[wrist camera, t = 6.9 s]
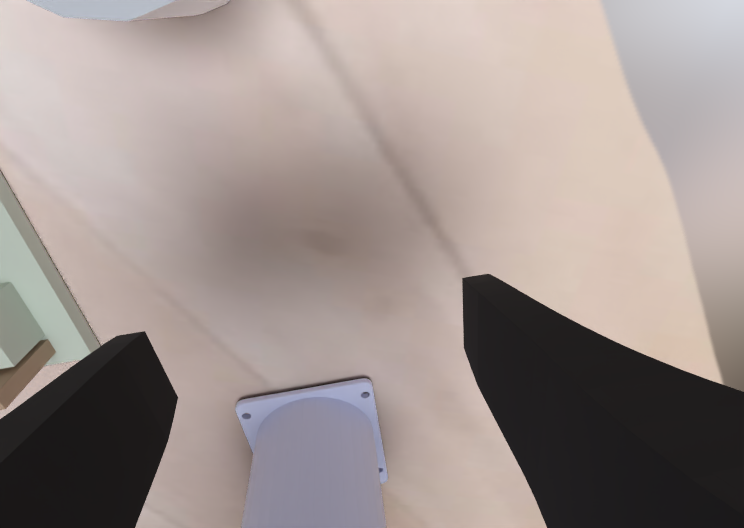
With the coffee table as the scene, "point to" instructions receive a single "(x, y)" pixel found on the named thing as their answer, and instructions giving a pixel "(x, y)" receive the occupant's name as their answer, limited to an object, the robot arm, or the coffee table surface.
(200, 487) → the coffee table surface
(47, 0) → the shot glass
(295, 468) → the robot arm
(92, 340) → the display cradle
